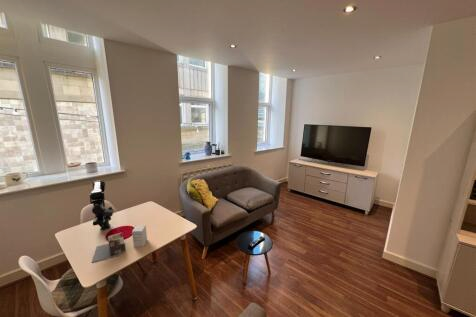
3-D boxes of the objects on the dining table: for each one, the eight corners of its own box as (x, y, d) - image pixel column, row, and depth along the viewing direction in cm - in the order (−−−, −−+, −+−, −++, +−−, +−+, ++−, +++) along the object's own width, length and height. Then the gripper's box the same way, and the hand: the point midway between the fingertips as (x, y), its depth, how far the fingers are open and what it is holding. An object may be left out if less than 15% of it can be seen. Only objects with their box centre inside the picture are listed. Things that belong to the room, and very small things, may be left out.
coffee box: (108, 243, 143) (110, 256, 130) (107, 236, 142) (109, 248, 129) (123, 239, 148) (125, 251, 136) (122, 232, 147) (124, 243, 134)
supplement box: (137, 240, 148) (135, 225, 146) (147, 240, 149) (146, 225, 146) (133, 246, 141) (131, 231, 139) (143, 246, 142) (142, 230, 139)
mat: (96, 247, 140) (96, 246, 140) (120, 241, 147) (120, 240, 147) (91, 262, 125) (91, 262, 125) (118, 255, 132) (118, 255, 132)
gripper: (110, 211, 135) (113, 231, 139) (113, 200, 151) (115, 218, 155) (91, 214, 130) (94, 235, 134) (96, 203, 146) (99, 221, 150)
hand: (101, 227), depth 143 cm, fingers closed
